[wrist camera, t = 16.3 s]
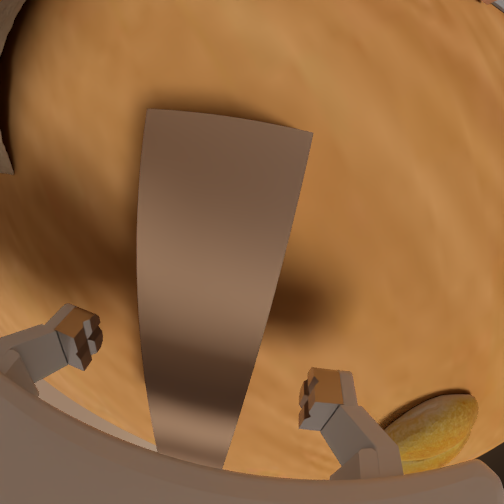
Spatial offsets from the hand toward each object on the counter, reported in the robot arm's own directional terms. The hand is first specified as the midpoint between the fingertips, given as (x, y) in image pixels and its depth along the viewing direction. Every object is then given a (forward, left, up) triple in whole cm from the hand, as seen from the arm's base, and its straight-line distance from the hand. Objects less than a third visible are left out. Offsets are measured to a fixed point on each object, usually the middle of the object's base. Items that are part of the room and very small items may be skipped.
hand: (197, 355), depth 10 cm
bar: (0, 0, -4) cm, 4 cm away
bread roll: (+9, +17, -4) cm, 20 cm away
